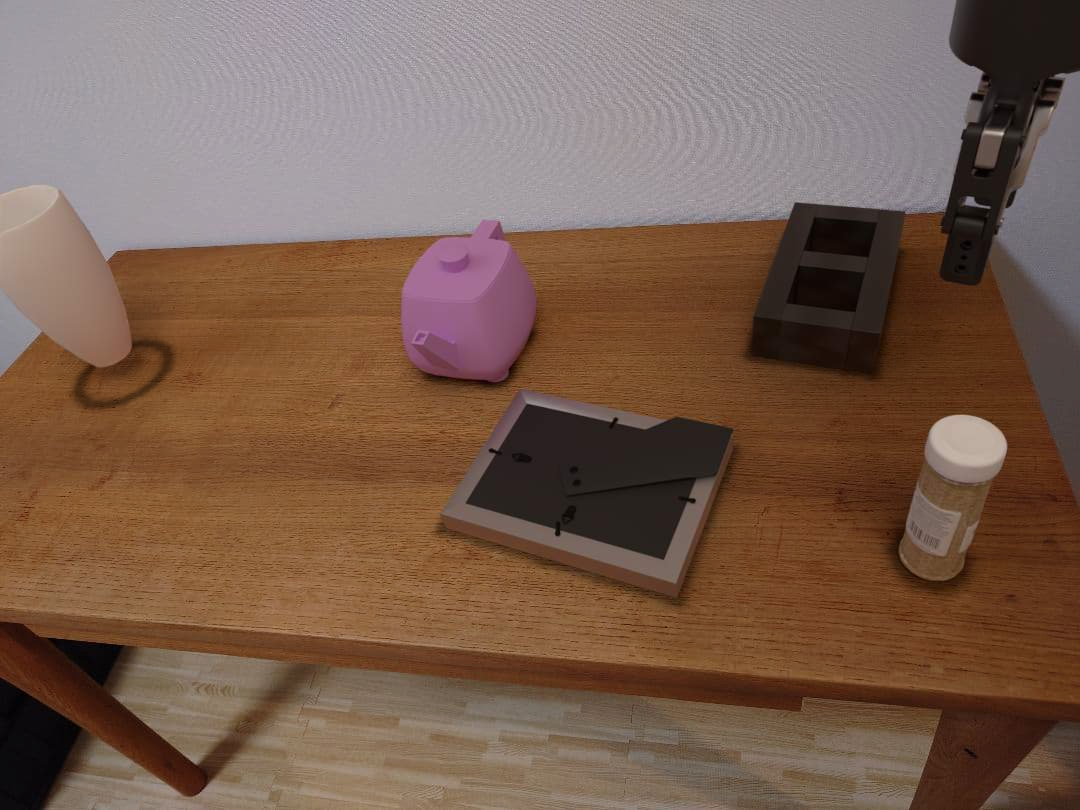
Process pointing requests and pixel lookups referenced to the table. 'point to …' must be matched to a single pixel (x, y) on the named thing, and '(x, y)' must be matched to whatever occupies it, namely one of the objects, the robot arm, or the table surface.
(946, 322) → the table surface
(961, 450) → the spice jar
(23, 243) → the peach conical vase
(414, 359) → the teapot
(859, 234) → the holder
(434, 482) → the table surface
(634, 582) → the picture frame
